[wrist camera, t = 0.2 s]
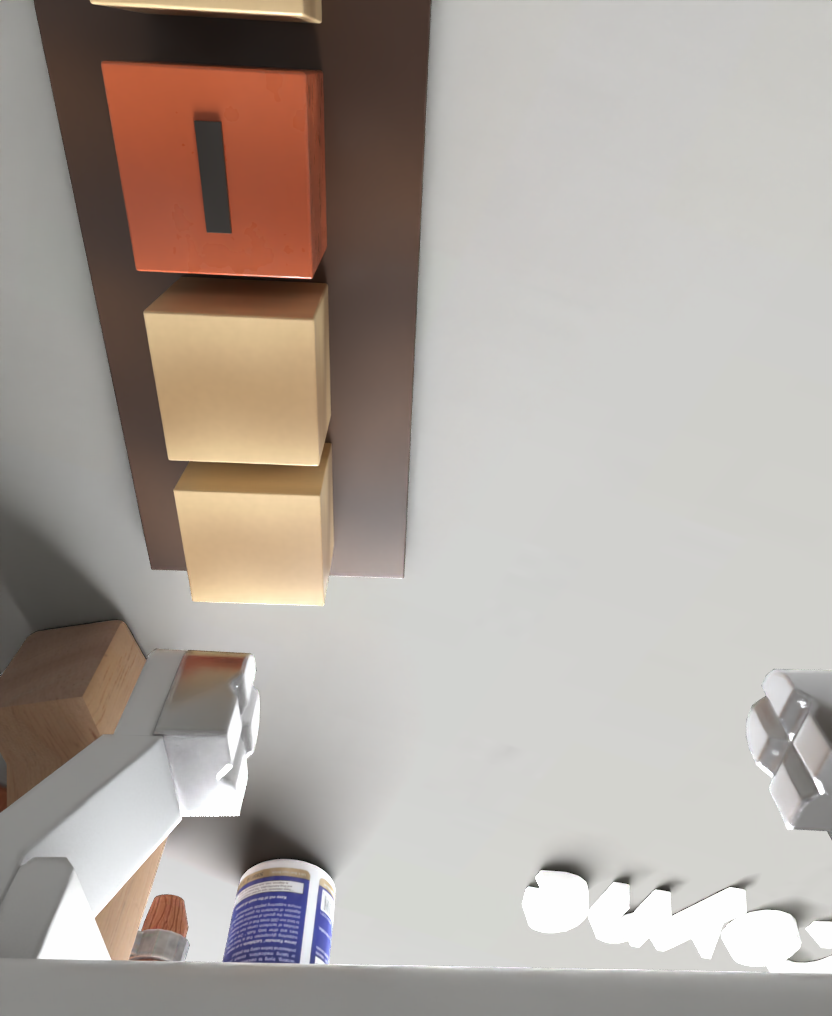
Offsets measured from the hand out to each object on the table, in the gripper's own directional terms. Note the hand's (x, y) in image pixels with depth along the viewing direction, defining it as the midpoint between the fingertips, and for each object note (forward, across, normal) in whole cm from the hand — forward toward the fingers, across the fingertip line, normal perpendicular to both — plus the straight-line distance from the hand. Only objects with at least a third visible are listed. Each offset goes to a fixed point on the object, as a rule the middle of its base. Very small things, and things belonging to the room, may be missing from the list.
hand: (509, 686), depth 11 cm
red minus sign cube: (+14, +6, -6) cm, 16 cm away
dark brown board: (+15, +6, -3) cm, 16 cm away
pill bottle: (+15, +8, +33) cm, 37 cm away
